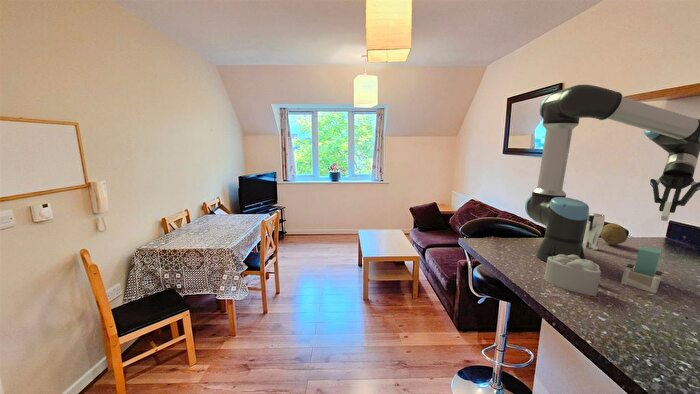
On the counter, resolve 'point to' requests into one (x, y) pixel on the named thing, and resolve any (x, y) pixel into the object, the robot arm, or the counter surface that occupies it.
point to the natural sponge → (613, 234)
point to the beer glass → (593, 230)
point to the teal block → (647, 261)
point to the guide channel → (641, 279)
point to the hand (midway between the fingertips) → (664, 218)
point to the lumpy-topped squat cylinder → (573, 273)
